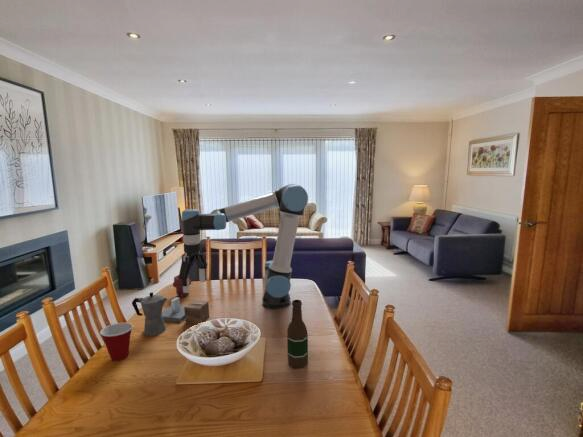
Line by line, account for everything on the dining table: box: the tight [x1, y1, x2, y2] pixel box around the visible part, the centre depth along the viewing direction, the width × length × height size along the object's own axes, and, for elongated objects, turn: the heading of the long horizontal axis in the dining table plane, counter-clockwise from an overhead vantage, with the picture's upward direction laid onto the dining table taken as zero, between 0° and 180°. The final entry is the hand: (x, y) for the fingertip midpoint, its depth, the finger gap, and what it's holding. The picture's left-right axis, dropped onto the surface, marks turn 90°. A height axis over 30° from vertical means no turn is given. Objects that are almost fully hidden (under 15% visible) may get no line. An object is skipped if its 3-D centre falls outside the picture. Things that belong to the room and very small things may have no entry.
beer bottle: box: [286, 299, 309, 369], centre depth 105 cm, size 8×8×24 cm
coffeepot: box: [131, 292, 168, 337], centre depth 129 cm, size 15×9×18 cm, turn 92°
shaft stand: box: [162, 296, 186, 323], centre depth 144 cm, size 13×12×8 cm
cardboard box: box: [184, 299, 210, 325], centre depth 139 cm, size 8×8×8 cm
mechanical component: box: [172, 274, 192, 299], centre depth 167 cm, size 12×10×10 cm
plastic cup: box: [99, 322, 134, 362], centre depth 111 cm, size 11×11×12 cm
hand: (194, 286), depth 137 cm, fingers open, 13 cm apart
